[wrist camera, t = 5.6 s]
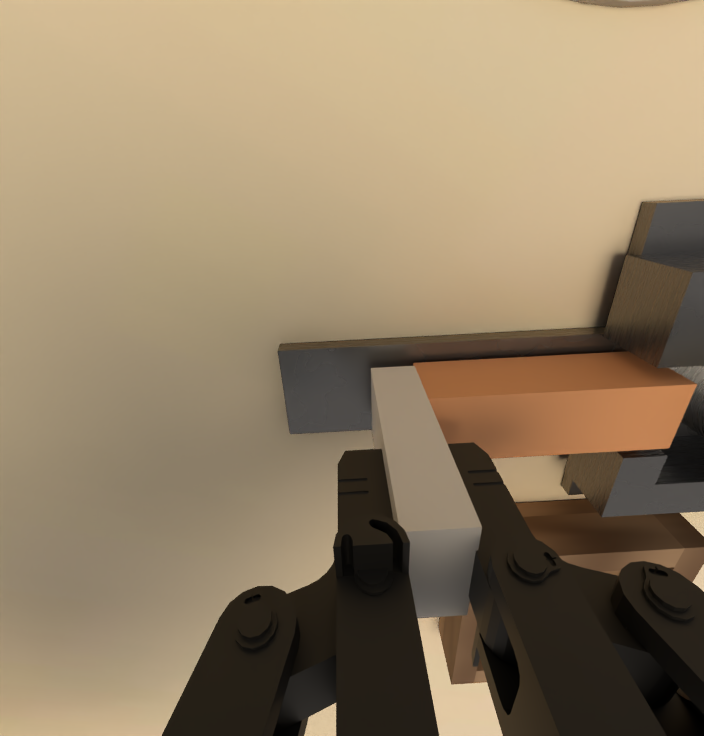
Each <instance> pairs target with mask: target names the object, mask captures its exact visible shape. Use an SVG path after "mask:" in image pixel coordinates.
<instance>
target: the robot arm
mask: <svg viewBox="0 0 704 736" xmlns="http://www.w3.org/2000/svg"><path fill="white" fill-rule="evenodd" d="M371 403H372V436H373V443H374V449H370V450H353V451H345V452H344V454H343V456H342V458H341V460H340V461H339V463H338V533H337V534H336V537H335V542H334V546H333V549H334V559H335V560H334V563H333V565H332V566H331V568H330V569H329V570H328V572H327V573H326V574H325V575H323V576H322V577H321V578H320V579H319V580H317V581H315V582H314V583H312V584H310V585H308V586H305V587H303V588H301V589H298V590H296V591H293V592H291V593H288V594H286V593H285V591H283V590H280V589H278V588H276V587H273V586H257V587H255V588H252V589H250V590H247V591H245V592H243V593H241V594H240V595H239V596H238V597H236V598H235V599H234V600H233V601H231V602H230V603H229V605H228V606H227V608H226V609H225V611H224V612H223V613H222V615H221V616H220V618H219V620H218V622H217V624H216V626H215V628H214V630H213V632H212V634H211V636H210V638H209V640H208V642H207V644H206V646H205V648H204V650H203V653H202V655H201V657H200V659H199V661H198V663H197V665H196V667H195V669H194V671H193V673H192V675H191V677H190V679H189V681H188V683H187V685H186V687H185V689H184V691H183V693H182V695H181V697H180V699H179V701H178V703H177V705H176V707H175V710H174V712H173V714H172V716H171V718H170V720H169V722H168V724H167V726H166V728H165V730H164V732H163V734H162V736H304V734H305V729H306V725H307V721H308V717H309V716H311V715H313V714H315V713H317V712H319V711H321V710H323V709H324V708H326V707H328V706H330V705H332V704H334V703H336V736H439V733H438V727H437V722H436V717H435V711H434V706H433V700H432V695H431V690H430V684H429V679H428V674H427V668H426V663H425V657H424V652H423V647H422V641H421V636H420V631H419V625H418V620H417V618H429V617H445V616H460V615H467V614H468V608H469V602H470V603H471V606H472V609H473V612H474V615H475V618H476V622H477V626H476V632H475V637H474V642H473V647H472V652H471V656H472V666H473V667H477V666H478V664H479V659H480V660H481V663H482V666H483V670H484V673H485V676H486V680H487V683H488V687H489V690H490V693H491V697H492V700H493V703H494V707H495V710H496V713H497V717H498V720H499V724H500V727H501V730H502V734H503V736H704V592H703V591H702V590H701V589H700V588H699V587H698V586H696V585H695V584H694V583H692V582H691V581H689V580H688V579H687V578H685V577H684V576H682V575H681V574H680V573H678V572H676V571H673V570H671V569H669V568H667V567H665V566H663V565H660V564H656V563H651V562H646V561H638V562H630V563H629V564H627V565H626V566H625V567H623V568H622V569H621V571H620V573H619V576H617V575H613V574H609V573H604V572H600V571H596V570H591V569H587V568H583V567H579V566H576V565H573V564H570V563H567V562H565V561H563V560H562V559H561V558H560V557H559V556H558V554H557V553H556V552H555V551H554V550H553V549H551V548H550V547H549V546H547V545H546V544H544V543H543V542H542V541H539V540H537V539H536V538H535V537H534V536H533V534H532V533H531V531H530V529H529V527H528V525H527V524H526V522H525V520H524V518H523V516H522V515H521V513H520V511H519V509H518V507H517V505H516V504H515V502H514V500H513V498H512V496H511V495H510V493H509V491H508V489H507V487H506V486H505V485H504V484H503V480H502V478H501V476H500V475H499V473H498V472H497V470H496V467H495V466H494V464H493V462H492V460H491V458H490V457H489V455H488V454H487V453H486V452H485V451H484V450H482V449H481V448H480V447H479V446H478V445H476V444H475V443H474V442H471V443H454V444H447V442H446V440H445V437H444V435H443V432H442V430H441V428H440V425H439V423H438V420H437V418H436V416H435V413H434V411H433V409H432V406H431V404H430V401H429V399H428V397H427V394H426V392H425V389H424V387H423V385H422V382H421V380H420V377H419V375H418V373H417V370H416V368H415V366H401V367H382V368H371Z"/></svg>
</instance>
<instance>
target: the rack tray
mask: <svg viewBox="0 0 704 736" xmlns="http://www.w3.org/2000/svg"><path fill="white" fill-rule="evenodd" d="M515 504H516V505H517V507H518V509H519V511H520V513H521V515H522V516H523V518H524V520H525V522H526V524H527V525H528V527H529V529H530V531H531V533H532V534H533V536H534V537H535V538H536V539H537V540H539V541H542V542H543V543H544V544H546V545H547V546H549V547H550V548H551V549H553V550H554V551H555V552H556V553H557V554H558V556H559V557H560V558H561V559H562V560H563V561H565V562H567V563H570V564H573V565H576V566H579V567H583V568H587V569H591V570H596V571H600V572H604V573H609V574H613V575H617V576H619V573H620V571H621V569H622V568H623V567H625V566H626V565H627V564H629V563H630V562H638V561H646V562H651V563H656V564H660V565H663V566H665V567H667V568H669V569H671V570H673V571H676V572H678V573H680V574H681V575H682V576H684V577H685V578H687V579H688V580H689V581H691V582H693V580H694V579H695V577H696V575H697V574H698V572H699V570H700V569H701V567H702V565H703V564H704V537H703V536H702V535H701V534H700V533H699V532H698V531H697V530H696V529H695V528H694V527H693V526H692V525H691V524H690V523H689V522H688V521H687V520H686V519H685V518H684V517H683V516H682V515H681V514H680V513H666V514H649V515H632V516H615V517H601V516H600V515H599V513H598V512H597V511H596V510H595V508H594V507H593V506H592V504H591V503H590V502H589V501H588V499H580V500H563V501H546V502H528V503H515ZM476 626H477V622H476V618H475V615H474V612H473V609H472V606H471V603H470V602H469V608H468V614H467V615H460V616H445V617H440V620H439V631H440V636H441V640H442V645H443V649H444V653H445V658H446V662H447V667H448V671H449V676H450V680H451V684H465V683H481V682H487V680H486V676H485V673H484V670H483V666H482V663H481V660H480V659H479V664H478V666H477V667H473V666H472V656H471V652H472V647H473V642H474V637H475V632H476Z"/></svg>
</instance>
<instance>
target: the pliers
mask: <svg viewBox="0 0 704 736" xmlns="http://www.w3.org/2000/svg"><path fill="white" fill-rule="evenodd" d="M572 1H576V2H580V3H585V4H594V5H603V6H612V7H637V6H657V5H663V4H669V3H675V2H681V1H687V0H572Z"/></svg>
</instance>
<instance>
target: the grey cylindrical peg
mask: <svg viewBox="0 0 704 736" xmlns="http://www.w3.org/2000/svg"><path fill="white" fill-rule="evenodd" d="M670 369H671V370H673V371H675V372H677V373H678V374H680V375H682V376H684V377H685V378H687V379H689V380H691V381H692V382H694V383H696V384H697V386H696V388H695V391H694V393H693V395H692V397H691V400H690V402H689V404H688V406H687V409H686V411H685V413H684V416H683V418H682V420H681V422H682V423H683V424H685V425H686V426H688V427H689V428H691V429H692V430H693V431H695V432H696V433H698V434H699V435H700V436H702V437H703V438H704V366H691V367H672V368H670Z"/></svg>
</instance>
